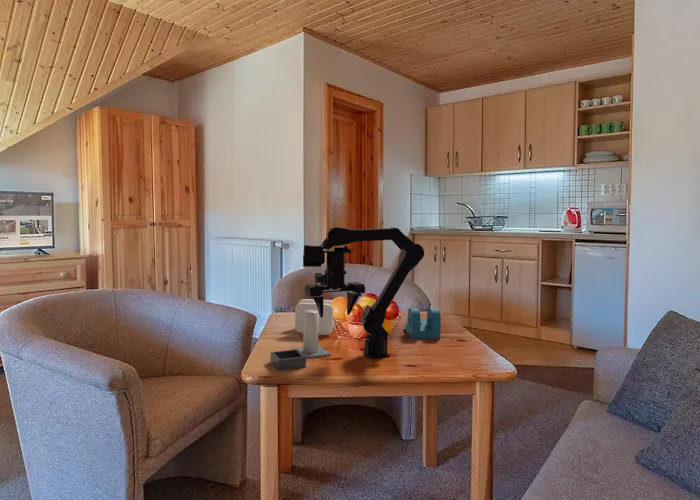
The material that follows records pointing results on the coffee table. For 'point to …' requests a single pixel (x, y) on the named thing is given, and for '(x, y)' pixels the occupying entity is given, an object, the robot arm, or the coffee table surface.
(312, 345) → the white plug
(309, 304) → the cable organizer
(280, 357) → the grey square tray
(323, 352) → the slate mat
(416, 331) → the camera mount
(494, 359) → the coffee table surface
